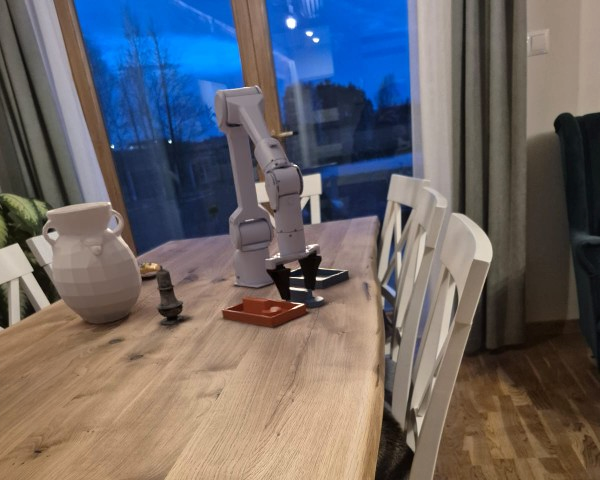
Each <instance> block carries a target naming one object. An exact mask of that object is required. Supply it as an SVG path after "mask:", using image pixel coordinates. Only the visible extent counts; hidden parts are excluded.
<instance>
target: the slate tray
mask: <svg viewBox="0 0 600 480" xmlns="http://www.w3.org/2000/svg"><path fill="white" fill-rule="evenodd" d="M349 276H350V275H349V270H348V269H337V268H336V269H334V268H323V267H319V269H318V272H317V277H316V284H315V289H322V290H323V289H325V288H328V287H331V286H332V285H333V286H334V285H335V284H338V283H341V282H343V281H346V280H348V279H350V277H349ZM290 286H293V287H294V286H296V287H303V288H304V287H305V284H304V278H303V273H302V270H301V267H299V268H296V269H293V270H291V273H290Z"/></svg>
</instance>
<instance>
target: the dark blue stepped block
mask: <svg viewBox="0 0 600 480" xmlns="http://www.w3.org/2000/svg"><path fill="white" fill-rule="evenodd" d="M290 293H291V298H290V300H285V301H286V302H293V303H301V304H306V308H311V309H312V308H319V307H321V306H324V305H325V301H324V299H325V298H324V297H323V296H314V294H313V291H312V290H311V289H306V288H301V287H294V286H293V287H292V286H290Z"/></svg>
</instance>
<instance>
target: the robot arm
mask: <svg viewBox="0 0 600 480" xmlns="http://www.w3.org/2000/svg"><path fill="white" fill-rule="evenodd" d="M213 106H214V113H215V119H216V125H217V127H218V131H219V132H221V133H224V134H225V136H226V140H227V144H228V150H229V151H228V152H229V157H230V165H231V170H232V175H233V176H232V177H233V183H234V188H235V189H234V190H235V194H236V201H237V208H236V209H235V210H234V211H233V212H232V214H231V215H230V216H229V218H228V224H229V225H228V226H229V227H228V228H229V229H228V231H229V239H230V242H231V245H232V246H233V248H235V251H234V252H233V256H232V264H233V271H234V275H235V281H236V282H234V286H239V287H247V288H255V289H259V288H262V287H265V286H268V285H270V284H273V283H274V285H275V287H276V289H277V291H278V294H279V297H280V299H281V301H286V300H290V298H291V293H290V287H291V285H290V273H291V271H292V268H290V267H286V266H285V265H288V264H290V263H294V262H296V261H298V265H299V268H301V270H302V273H303V278H304V284H305V288H304V289H311V290H312V292H313V291H315V290H316V288H315V284H316V277H317V272H318V269H319V268H320V266H321V263H322V261H323V259H322V258H323V257H322V255H319V254H321V245H320V244H317V243H316V244H315V243H313V244H308V245H307V244H306V236H305V228H304V219H303V211H302V203H301V196H302V195H303V193H304V187H305V186H304V177H303V174H302V171H301V169H300V167H299V166H298V165H296V164H295V163H294V162H290V160H289V158H288V157H287V154H286V153H285V151H284V149H283V147H282V144H281V143H280V141H279V140H278V139H276V138H275V137H272V136H271V132H270V130H269V127H268V125H267V121H266V120H265V111H266V101H265V95H264V93H263V90H262V89H261V88H260V87H259V86H258V85H254V86H249V87H248V86H247V87H240V88H230V89H217V90H216V93H215V95H214V101H213ZM249 137H250V138H249ZM250 139H251V141H252V143H253V144H254V145H255V148H254V152H253V153H254V155H253V156H254V157H255V159H256V161H257V163H258V165H259V167H260V171H261V172H262V174H263V176H264V188H265V191H266V192H265V193H266V195H267V198H268V201H269V207H270V209H271V210H272V212H273V218H274V225H275V226H273V223H272V221H271V216H270V213H269V211H268V210H266V209H264V208H263V207H262V206H260V205H259V201H258V194H257V188H256V179H255V173H254V167H253V159H252V152H251V151H252V150H251V146H250ZM274 227H275V232H276V239H277V246H278V252H277V253H276V254H274V255H272V256H271V255H270V249H269V247H271V244H272V242H273V241H274V237H275V232H274Z"/></svg>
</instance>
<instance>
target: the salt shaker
mask: <svg viewBox="0 0 600 480" xmlns="http://www.w3.org/2000/svg"><path fill="white" fill-rule="evenodd" d="M163 267H164V266H162V265H161V264H160V265H159V268H160V270H159V271H156V273H155V277H156V283H157V288H156V289H157V291H159V296H160V297H159V298H160V303H158V304H157V305H156V306H155V309H157V311H158V313H159V315H160V316H161V317H163V319H162V320H161V321H160V324H161V325H164V326H165V325H175V324H178V323H182V322H184V321H185V320H186V317H185V316H183V315H181V313H182V312H183V307H184V306H183V304H184V301H183V300H178V299H177V297H176V295H175V291H174V287H175V285H174V284H173V283H172V279H171V274H170V271H169V270H167V269H165V268H163Z"/></svg>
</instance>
